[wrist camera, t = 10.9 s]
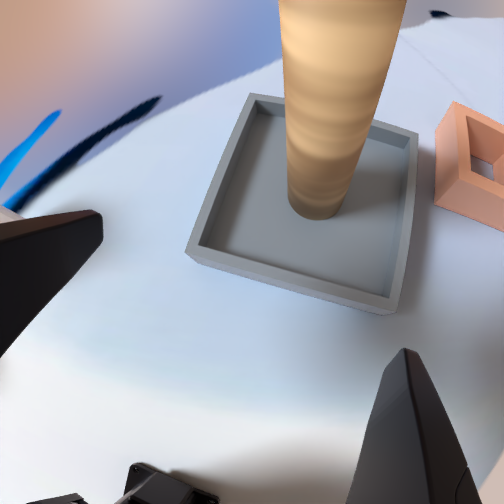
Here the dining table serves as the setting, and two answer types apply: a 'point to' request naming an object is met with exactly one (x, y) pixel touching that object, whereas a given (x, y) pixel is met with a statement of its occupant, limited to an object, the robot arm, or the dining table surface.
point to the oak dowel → (332, 92)
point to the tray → (304, 230)
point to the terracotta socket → (459, 165)
